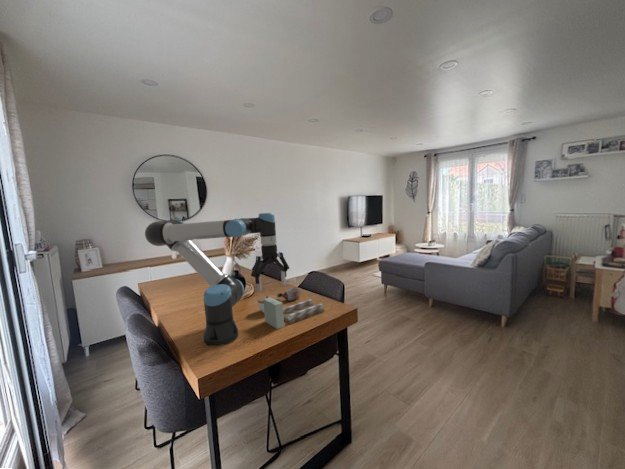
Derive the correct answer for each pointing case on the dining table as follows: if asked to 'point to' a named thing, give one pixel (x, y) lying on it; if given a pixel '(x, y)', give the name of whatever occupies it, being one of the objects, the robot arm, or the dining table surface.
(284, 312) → the grey bumpy tray
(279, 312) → the pale green square block
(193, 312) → the dining table surface
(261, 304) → the lidded jar
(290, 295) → the decorative duck model
